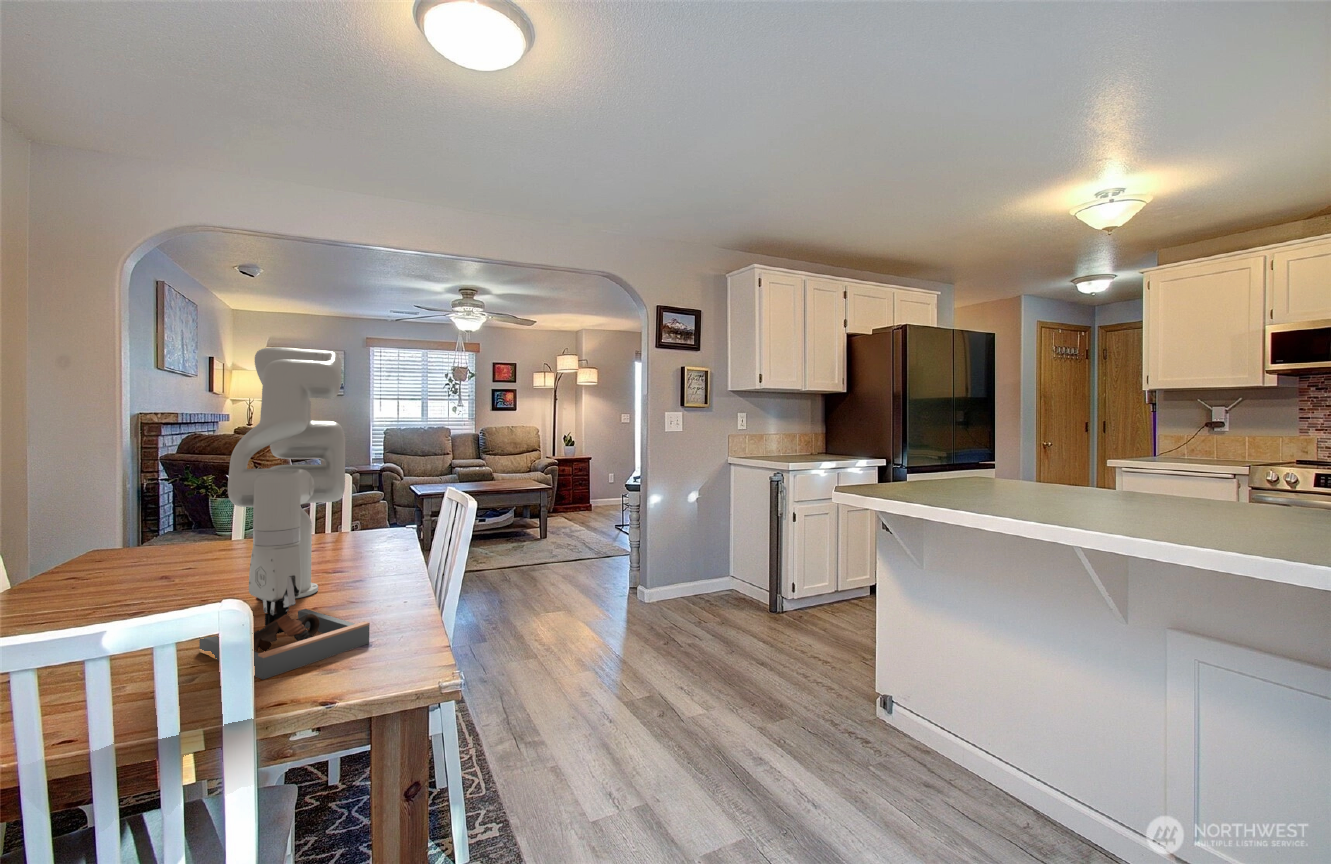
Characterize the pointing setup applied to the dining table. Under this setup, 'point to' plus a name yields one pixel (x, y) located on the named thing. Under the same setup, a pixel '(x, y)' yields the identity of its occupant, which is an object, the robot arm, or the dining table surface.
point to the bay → (304, 645)
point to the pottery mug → (286, 630)
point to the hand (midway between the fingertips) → (276, 632)
